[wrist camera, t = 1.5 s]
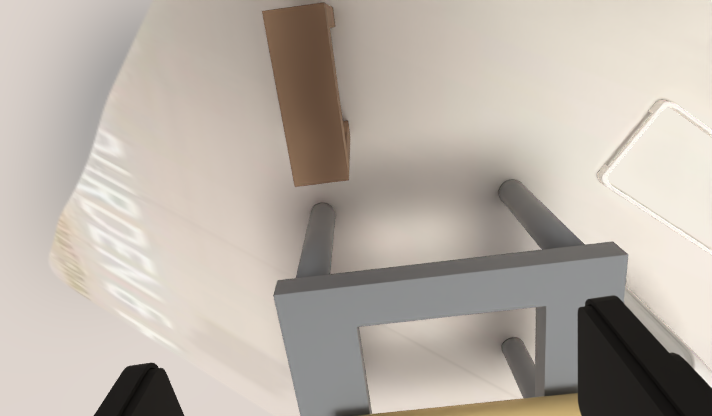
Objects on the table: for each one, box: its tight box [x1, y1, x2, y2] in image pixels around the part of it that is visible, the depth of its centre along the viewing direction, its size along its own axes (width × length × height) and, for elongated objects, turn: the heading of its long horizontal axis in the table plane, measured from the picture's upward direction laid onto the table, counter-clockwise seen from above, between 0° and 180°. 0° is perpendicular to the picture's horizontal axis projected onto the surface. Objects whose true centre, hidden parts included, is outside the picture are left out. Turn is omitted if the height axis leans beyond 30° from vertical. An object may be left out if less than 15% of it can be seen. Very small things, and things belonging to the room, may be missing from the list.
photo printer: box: [624, 285, 712, 388], centre depth 36 cm, size 10×4×12 cm, turn 39°
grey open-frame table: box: [273, 180, 628, 416], centre depth 33 cm, size 18×18×16 cm
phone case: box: [597, 100, 712, 255], centre depth 37 cm, size 7×1×15 cm
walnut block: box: [262, 3, 350, 187], centre depth 29 cm, size 3×9×10 cm, turn 8°
